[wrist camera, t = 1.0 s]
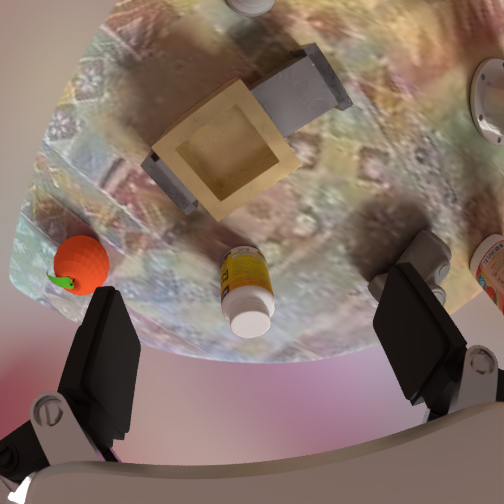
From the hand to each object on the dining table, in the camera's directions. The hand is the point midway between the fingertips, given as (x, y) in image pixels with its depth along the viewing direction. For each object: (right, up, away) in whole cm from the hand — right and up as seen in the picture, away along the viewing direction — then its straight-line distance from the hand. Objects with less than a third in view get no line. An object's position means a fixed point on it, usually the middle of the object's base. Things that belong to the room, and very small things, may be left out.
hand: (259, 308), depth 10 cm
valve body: (-1, +15, +18) cm, 23 cm away
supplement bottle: (-1, +1, +28) cm, 28 cm away
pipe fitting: (+21, +1, +30) cm, 37 cm away
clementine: (-21, +2, +24) cm, 32 cm away
